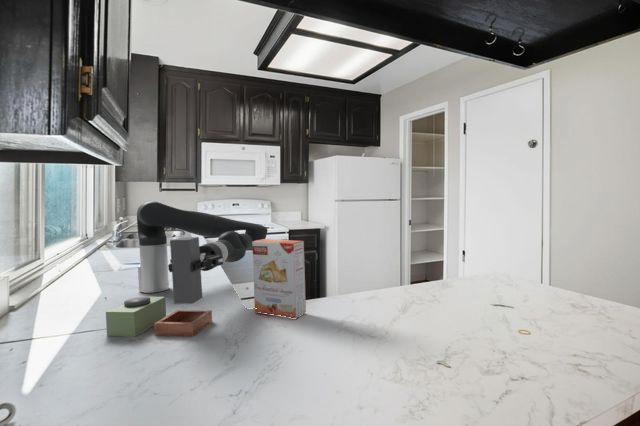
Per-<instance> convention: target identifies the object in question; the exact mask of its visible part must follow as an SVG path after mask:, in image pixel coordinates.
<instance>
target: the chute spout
mask: <svg viewBox="0 0 640 426" xmlns="http://www.w3.org/2000/svg"><path fill="white" fill-rule="evenodd" d="M169 244H170V245H169V246H170V259H171V262H170V263H172V272H171V277H172V291H173V293H172V294H173V304H178V305H179V304H186V305H188V304H190V305H191V304H195V303H196V302H198V301H199V300H201V299H202V298H203V287H202V270H201V269H199V270H197V271H195V272H191V271H190V264H191V263H192V262H195V261H197V260H199V259H200V250H199V246H200V238H199V236H195V237H194V236H193V237H192V236H191V237H190V236H188V237H177V238H174V239H170V240H169Z"/></svg>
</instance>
